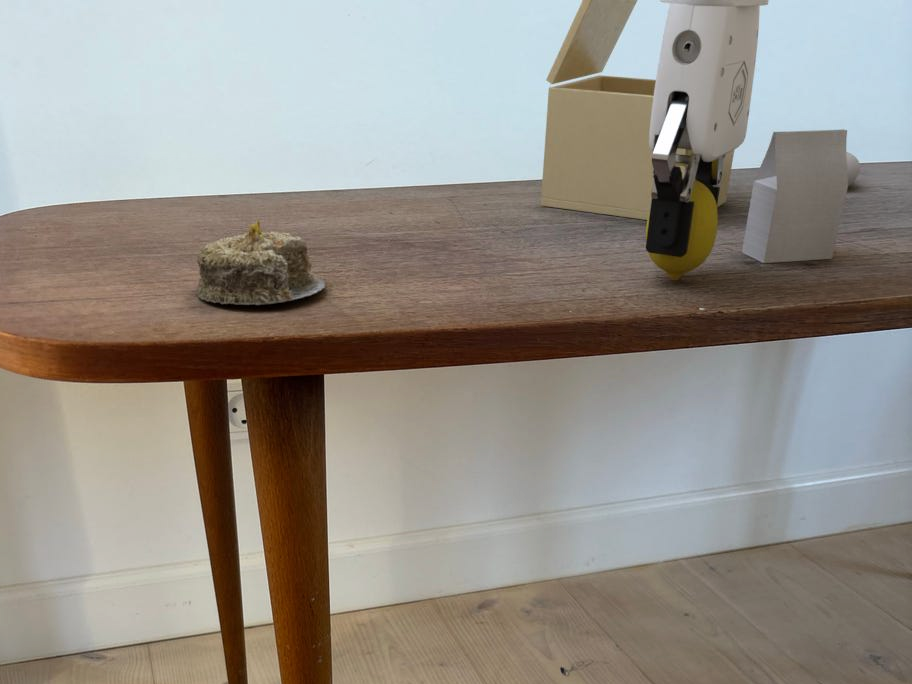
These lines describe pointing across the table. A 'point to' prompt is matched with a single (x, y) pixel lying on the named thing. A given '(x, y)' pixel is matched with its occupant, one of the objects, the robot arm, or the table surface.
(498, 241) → the table surface
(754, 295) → the table surface
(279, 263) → the cake
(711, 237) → the lemon
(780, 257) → the grey upright tapered block
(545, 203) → the tan open box
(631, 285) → the table surface
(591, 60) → the box lid
